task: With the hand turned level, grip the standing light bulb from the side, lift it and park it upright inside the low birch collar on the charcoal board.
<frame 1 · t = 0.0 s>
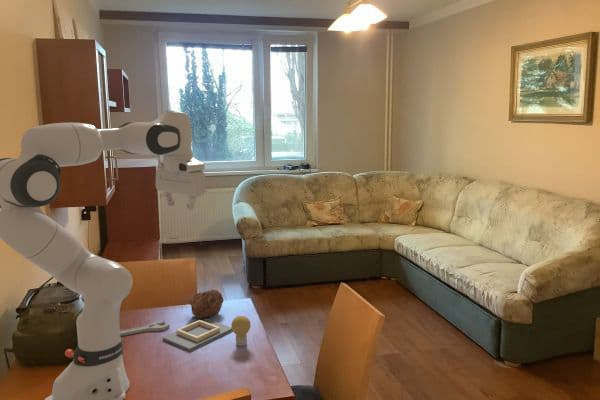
hand: (180, 207, 162), 48 cm above the table, tool pointing down, fingers open, 8 cm apart
board: (198, 335, 180), on the table
light bulb: (241, 344, 173), on the table
decorative rock: (207, 315, 198), on the table
adjustable wrench: (133, 333, 184), on the table
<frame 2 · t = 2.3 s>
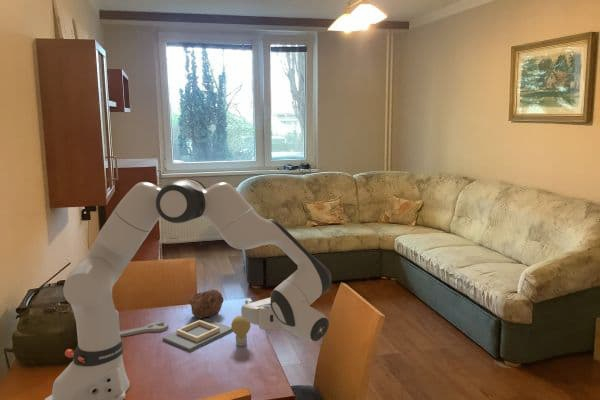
hand: (260, 298, 160), 20 cm above the table, tool horizontal, fingers open, 8 cm apart
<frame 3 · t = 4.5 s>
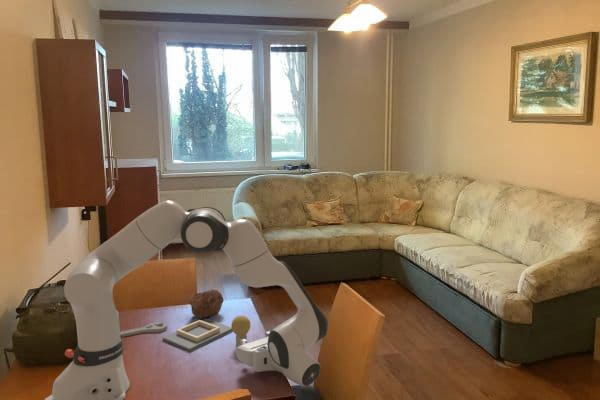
hand: (254, 337, 165), 6 cm above the table, tool horizontal, fingers open, 8 cm apart
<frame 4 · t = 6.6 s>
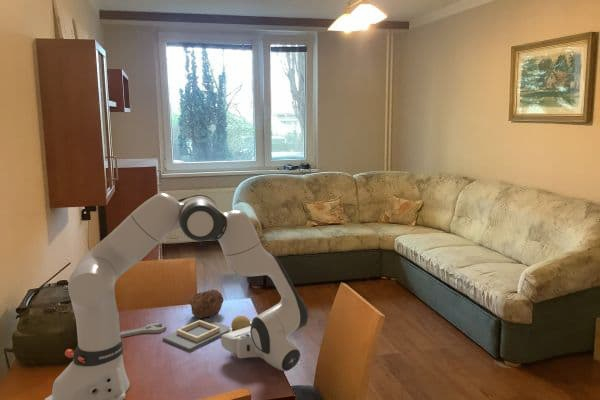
hand: (239, 326, 173), 6 cm above the table, tool horizontal, fingers closed on light bulb, 6 cm apart
light bulb: (241, 344, 173), on the table, touching gripper
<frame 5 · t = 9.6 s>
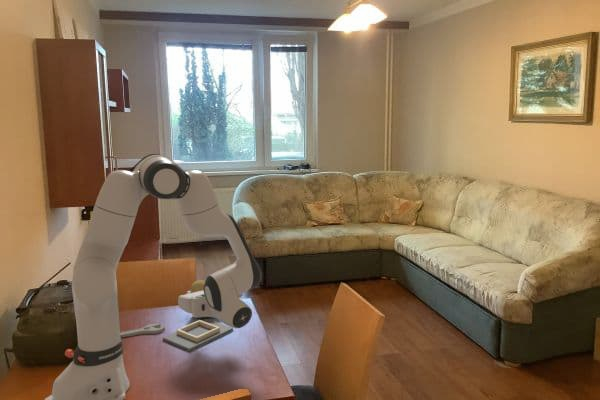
hand: (198, 290, 177), 17 cm above the table, tool horizontal, fingers closed on light bulb, 6 cm apart
light bulb: (200, 308, 178), point 10 cm above the table, touching gripper
when the fingers open (8 cm above the table, at t = 12.4 s): light bulb stays where it is, resting on board.
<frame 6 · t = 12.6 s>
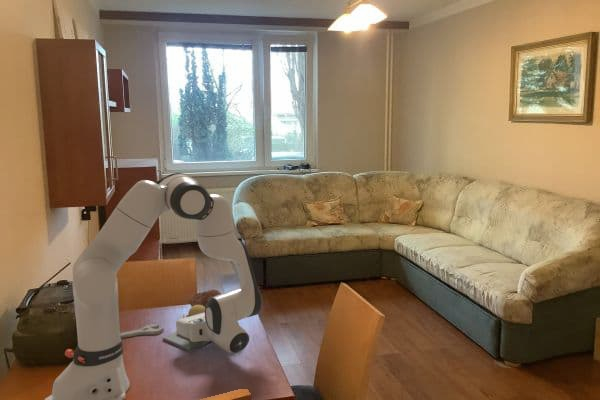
hand: (196, 313, 180), 8 cm above the table, tool horizontal, fingers open, 8 cm apart
light bulb: (198, 333, 180), point 1 cm above the table, touching board
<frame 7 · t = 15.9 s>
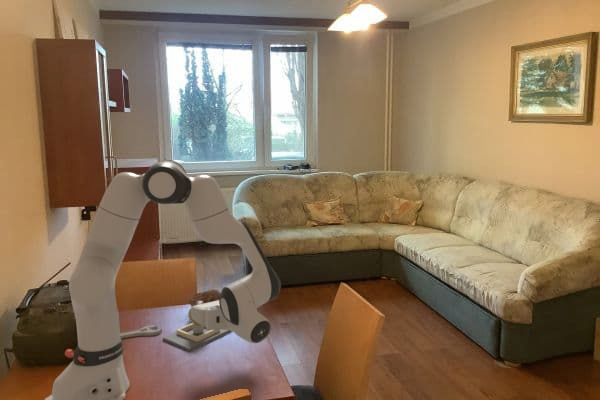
hand: (211, 300, 168), 17 cm above the table, tool horizontal, fingers open, 8 cm apart
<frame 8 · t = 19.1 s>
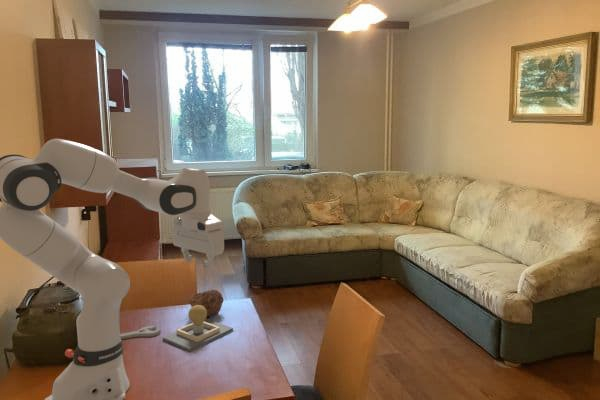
hand: (198, 264, 159), 31 cm above the table, tool pointing down, fingers open, 8 cm apart
at the end: light bulb 0.0 cm off-centre on the board, point 0.8 cm above the board's base; light bulb tilted 0°; the gripper is holding nothing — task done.
